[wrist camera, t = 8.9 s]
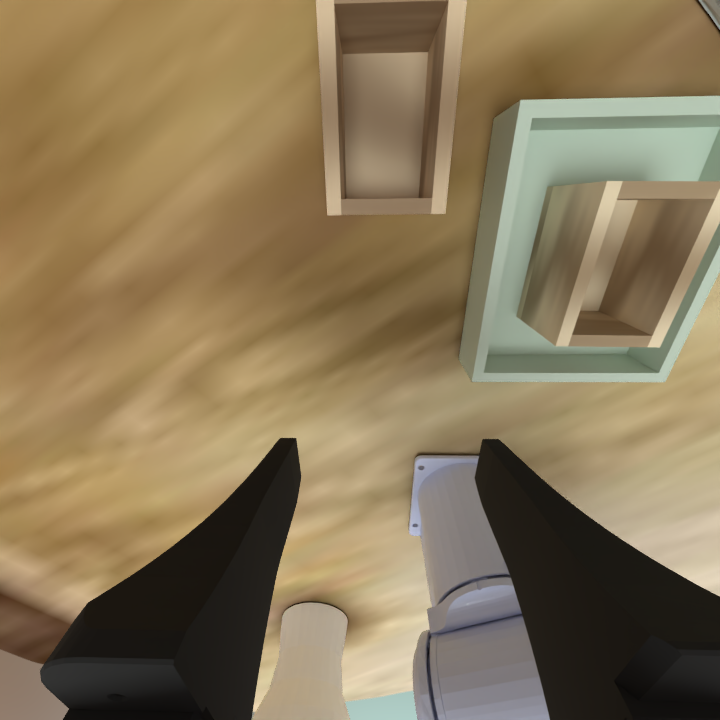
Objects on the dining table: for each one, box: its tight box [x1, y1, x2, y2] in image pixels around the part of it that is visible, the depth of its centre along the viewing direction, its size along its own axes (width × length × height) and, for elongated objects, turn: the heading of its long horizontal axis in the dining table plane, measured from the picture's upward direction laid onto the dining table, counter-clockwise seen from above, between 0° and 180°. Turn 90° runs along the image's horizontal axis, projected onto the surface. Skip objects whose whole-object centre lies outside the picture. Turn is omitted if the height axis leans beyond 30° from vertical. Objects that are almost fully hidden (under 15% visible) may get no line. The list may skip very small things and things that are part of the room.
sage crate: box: [459, 96, 720, 382], centre depth 17 cm, size 13×11×3 cm
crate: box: [316, 0, 467, 215], centre depth 14 cm, size 7×5×4 cm
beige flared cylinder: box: [252, 603, 350, 720], centre depth 30 cm, size 11×11×15 cm
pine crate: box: [516, 181, 720, 348], centre depth 16 cm, size 7×5×4 cm
